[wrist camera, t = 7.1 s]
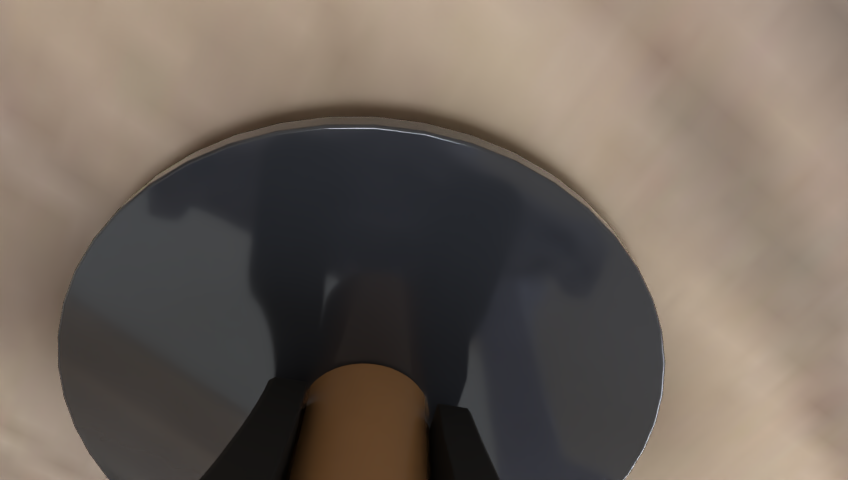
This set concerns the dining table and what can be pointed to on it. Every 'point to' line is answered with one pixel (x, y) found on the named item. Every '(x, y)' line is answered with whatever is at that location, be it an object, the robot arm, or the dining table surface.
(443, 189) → the lid
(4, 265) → the dining table surface
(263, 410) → the robot arm
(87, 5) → the dining table surface
